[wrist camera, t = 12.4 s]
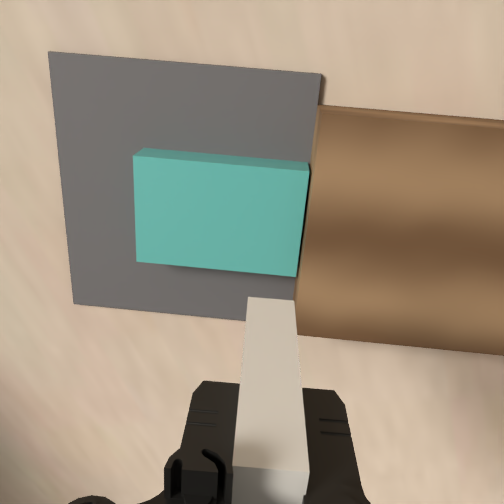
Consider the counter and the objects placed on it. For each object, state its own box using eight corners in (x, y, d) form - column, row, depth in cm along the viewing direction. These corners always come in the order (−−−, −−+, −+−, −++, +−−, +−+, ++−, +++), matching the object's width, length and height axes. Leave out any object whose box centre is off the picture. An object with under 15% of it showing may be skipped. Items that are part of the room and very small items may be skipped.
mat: (289, 322, 29) (289, 325, 29) (75, 301, 30) (73, 303, 30) (321, 73, 23) (321, 74, 23) (50, 51, 24) (47, 51, 23)
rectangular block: (295, 261, 27) (295, 276, 25) (146, 247, 28) (136, 261, 26) (307, 162, 25) (309, 171, 23) (143, 147, 25) (132, 155, 23)
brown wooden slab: (598, 332, 28) (638, 369, 25) (291, 302, 29) (292, 334, 26) (689, 136, 23) (754, 150, 20) (317, 104, 24) (322, 113, 21)
